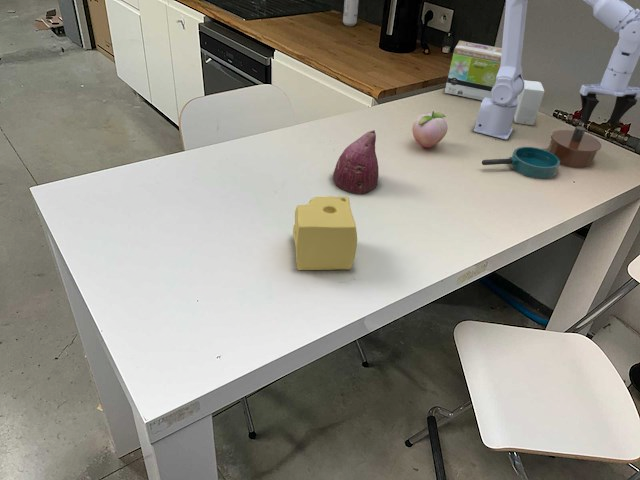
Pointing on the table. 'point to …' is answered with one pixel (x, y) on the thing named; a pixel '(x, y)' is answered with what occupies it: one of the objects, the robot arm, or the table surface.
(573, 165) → the casserole
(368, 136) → the vegetable
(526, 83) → the small box
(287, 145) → the table surface
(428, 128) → the decorative fruit
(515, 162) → the pan handle
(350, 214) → the cheese
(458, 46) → the tea box
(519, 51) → the robot arm
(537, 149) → the pan
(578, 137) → the lid
